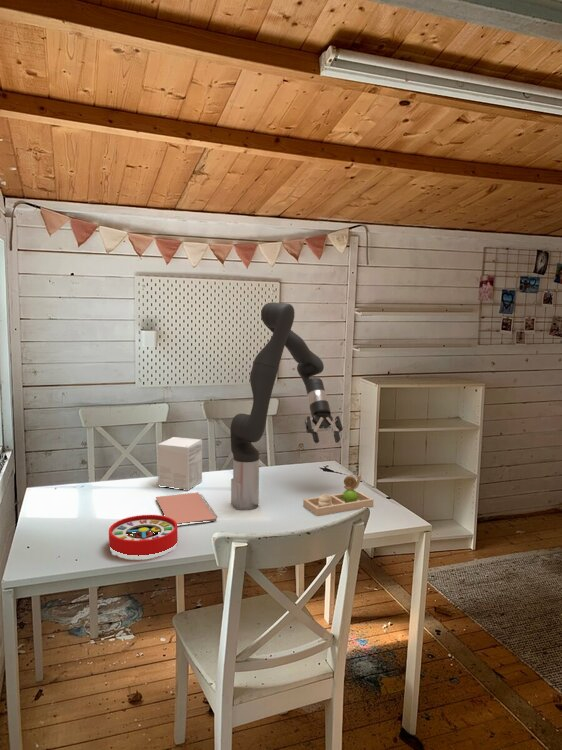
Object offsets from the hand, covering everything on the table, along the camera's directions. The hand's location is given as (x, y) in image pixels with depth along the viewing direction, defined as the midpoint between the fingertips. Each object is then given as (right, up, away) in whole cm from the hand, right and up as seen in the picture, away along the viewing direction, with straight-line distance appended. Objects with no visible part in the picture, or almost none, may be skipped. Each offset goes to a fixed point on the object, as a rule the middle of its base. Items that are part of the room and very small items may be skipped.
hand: (327, 442), depth 213 cm
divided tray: (+3, -23, -10) cm, 25 cm away
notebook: (-51, -23, -14) cm, 57 cm away
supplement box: (-58, -19, +14) cm, 62 cm away
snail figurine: (+8, -21, -8) cm, 24 cm away
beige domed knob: (-2, -22, -13) cm, 25 cm away
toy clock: (-59, -26, -42) cm, 77 cm away
